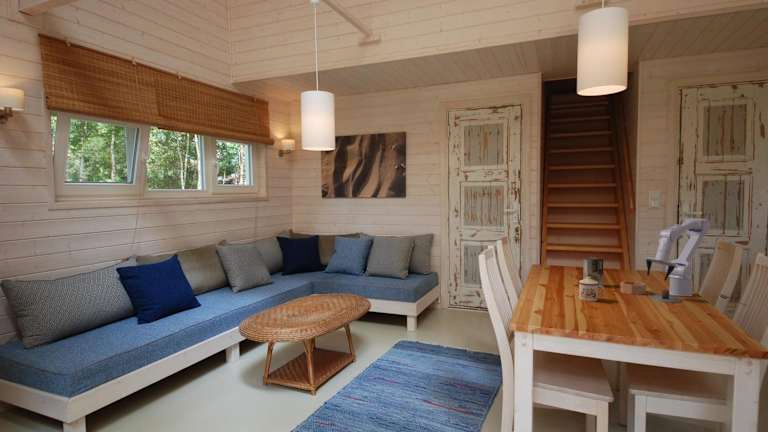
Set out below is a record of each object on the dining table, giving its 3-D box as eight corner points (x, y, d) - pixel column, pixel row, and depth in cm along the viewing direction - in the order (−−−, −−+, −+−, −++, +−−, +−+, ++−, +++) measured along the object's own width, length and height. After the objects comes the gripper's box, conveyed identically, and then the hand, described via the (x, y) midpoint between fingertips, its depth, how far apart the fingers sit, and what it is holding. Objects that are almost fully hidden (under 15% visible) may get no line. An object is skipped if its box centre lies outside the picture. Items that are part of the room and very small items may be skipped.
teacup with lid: (578, 300, 219) (579, 277, 218) (578, 296, 227) (578, 274, 226) (605, 303, 214) (605, 279, 213) (604, 298, 222) (604, 276, 222)
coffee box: (598, 284, 254) (599, 257, 253) (603, 287, 247) (603, 259, 246) (582, 284, 255) (583, 257, 254) (586, 287, 248) (587, 259, 247)
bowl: (640, 290, 239) (640, 281, 238) (647, 295, 228) (648, 285, 228) (618, 289, 241) (618, 280, 241) (624, 294, 230) (625, 285, 230)
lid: (674, 297, 224) (674, 288, 224) (685, 304, 212) (686, 294, 211) (646, 296, 227) (646, 287, 227) (655, 302, 215) (656, 293, 214)
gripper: (647, 247, 223) (640, 272, 221) (680, 254, 214) (673, 281, 213) (647, 249, 228) (640, 274, 227) (680, 257, 220) (673, 283, 219)
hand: (656, 277), depth 221 cm, fingers open, 7 cm apart
